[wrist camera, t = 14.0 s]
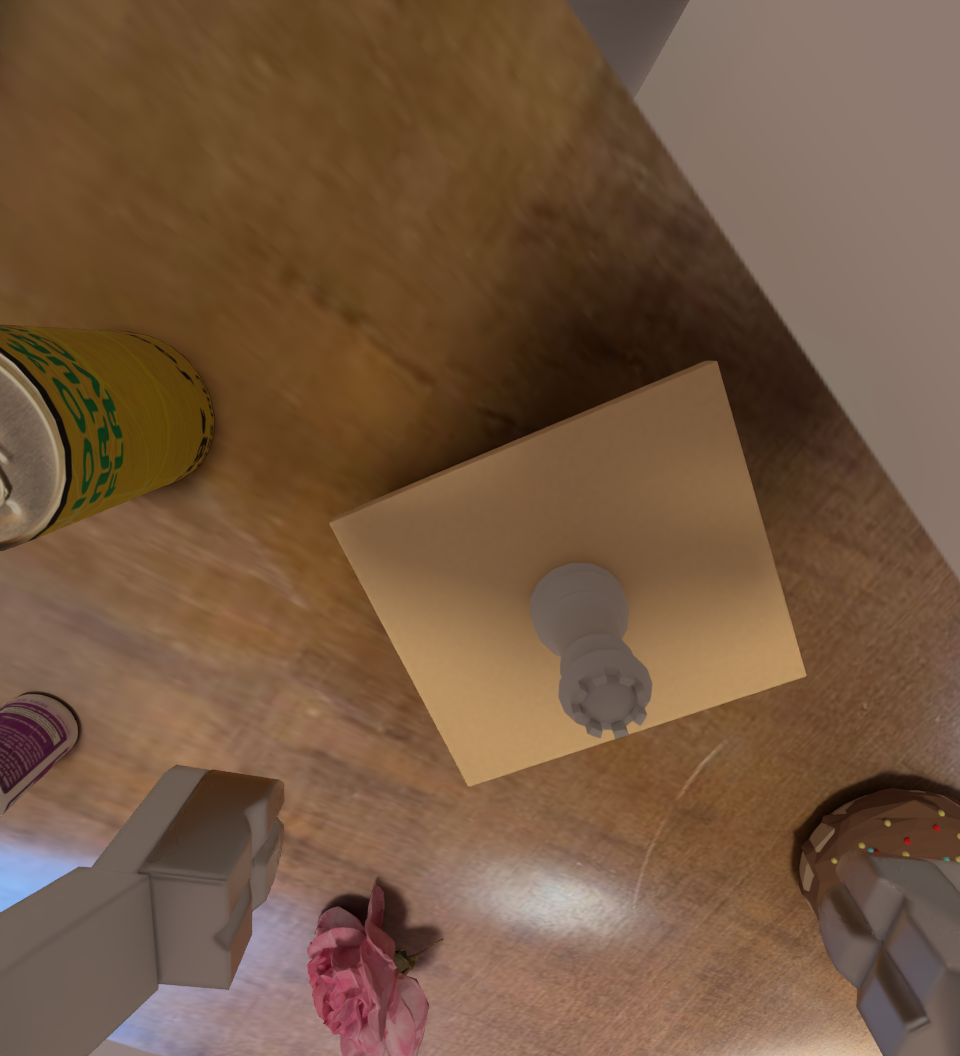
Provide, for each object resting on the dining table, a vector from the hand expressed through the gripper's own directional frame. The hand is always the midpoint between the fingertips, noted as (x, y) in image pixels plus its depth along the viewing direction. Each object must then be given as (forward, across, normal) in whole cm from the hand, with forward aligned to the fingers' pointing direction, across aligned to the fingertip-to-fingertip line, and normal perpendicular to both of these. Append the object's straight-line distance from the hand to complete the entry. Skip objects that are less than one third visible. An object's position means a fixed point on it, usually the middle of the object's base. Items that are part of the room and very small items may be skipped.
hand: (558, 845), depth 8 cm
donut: (+27, -32, +25) cm, 48 cm away
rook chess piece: (+18, -4, +4) cm, 18 cm away
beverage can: (+27, +22, 0) cm, 35 cm away
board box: (+27, -3, +4) cm, 27 cm away
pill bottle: (+26, +31, +23) cm, 47 cm away
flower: (+26, +6, +40) cm, 48 cm away
